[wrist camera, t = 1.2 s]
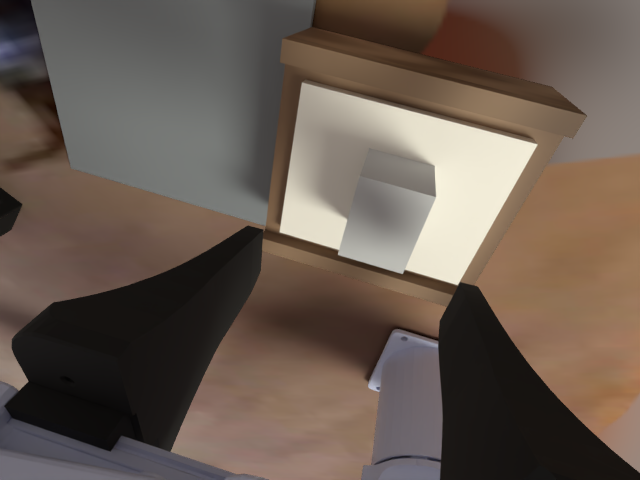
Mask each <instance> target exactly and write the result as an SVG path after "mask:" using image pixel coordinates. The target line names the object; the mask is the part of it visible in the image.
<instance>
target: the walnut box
mask: <svg viewBox="0 0 640 480" xmlns="http://www.w3.org/2000/svg"><path fill="white" fill-rule="evenodd" d="M280 63H284V64H285V69H284V77H283V86H282V94H281V102H280V111H279V119H278V127H277V136H276V144H275V152H274V161H273V169H272V177H271V186H270V194H269V202H268V211H267V219H266V227H265V231H264V233H263V244H262V251H263V252H267V253H270V254H273V255H277V256H280V257H283V258H287V259H290V260H293V261H297V262H300V263H303V264H307V265H310V266H313V267H316V268H320V269H323V270H326V271H330V272H333V273H336V274H340V275H343V276H346V277H350V278H353V279H356V280H360V281H363V282H366V283H370V284H373V285H376V286H379V287H383V288H386V289H389V290H393V291H396V292H399V293H403V294H406V295H409V296H413V297H416V298H419V299H423V300H426V301H429V302H432V303H436V304H439V305H442V306H446V307H447V306H448V304H449V303H450V301H451V299H452V297H453V295H454V293H455V291H456V289H457V287H458V285H459V284H458V285H455V284H452V283H449V282H445V281H442V280H439V279H435V278H432V277H428V276H425V275H422V274H418V273H415V272H412V271H408V270H404V272H403V274H401V273H397V272H394V271H390V270H387V269H384V268H380V267H377V266H374V265H370V264H367V263H364V262H360V261H357V260H353V259H350V258H347V257H343V256H340V255H338V252H339V250H337V249H334V248H331V247H327V246H324V245H320V244H317V243H314V242H310V241H307V240H304V239H300V238H297V237H294V236H290V235H287V234H283V233H280V226H281V219H282V212H283V206H284V199H285V192H286V186H287V179H288V172H289V166H290V159H291V152H292V146H293V139H294V132H295V125H296V119H297V112H298V105H299V99H300V92H301V85H302V82H303V81H304V80H309V81H313V82H317V83H320V84H324V85H328V86H332V87H336V88H340V89H343V90H347V91H351V92H355V93H359V94H363V95H366V96H370V97H374V98H378V99H382V100H385V101H389V102H393V103H397V104H401V105H405V106H408V107H412V108H416V109H420V110H424V111H428V112H431V113H435V114H439V115H443V116H447V117H450V118H454V119H458V120H462V121H466V122H470V123H473V124H477V125H481V126H485V127H489V128H492V129H496V130H500V131H504V132H508V133H512V134H515V135H519V136H523V137H527V138H531V139H534V140H535V141H536V143H537V144H538V145H537V147H536V148H535V150H534V152H533V154H532V155H531V157H530V159H529V161H528V162H527V164H526V166H525V168H524V169H523V171H522V173H521V175H520V176H519V178H518V180H517V182H516V184H515V185H514V187H513V189H512V191H511V192H510V194H509V196H508V198H507V199H506V201H505V203H504V205H503V206H502V208H501V210H500V212H499V213H498V215H497V217H496V219H495V220H494V222H493V224H492V226H491V227H490V229H489V231H488V233H487V235H486V236H485V238H484V240H483V242H482V243H481V245H480V247H479V249H478V250H477V252H476V254H475V256H474V257H473V259H472V261H471V263H470V264H469V266H468V268H467V270H466V271H465V273H464V275H463V277H462V278H461V280H460V282H462V283H466V284H470V285H474V284H475V283H476V281H477V279H478V278H479V276H480V274H481V273H482V271H483V269H484V268H485V266H486V264H487V263H488V261H489V260H490V258H491V256H492V255H493V253H494V251H495V250H496V248H497V246H498V245H499V243H500V241H501V240H502V238H503V236H504V235H505V233H506V231H507V230H508V228H509V226H510V225H511V223H512V222H513V220H514V218H515V217H516V215H517V213H518V212H519V210H520V208H521V207H522V205H523V203H524V202H525V200H526V198H527V197H528V195H529V193H530V192H531V190H532V188H533V187H534V185H535V184H536V182H537V180H538V179H539V177H540V175H541V174H542V172H543V170H544V169H545V167H546V165H547V164H548V162H549V160H550V158H551V157H552V155H553V154H554V152H555V150H556V149H557V147H558V146H559V144H560V142H561V141H562V139H563V137H564V136H565V137H569V138H573V137H574V136H575V135H576V133H577V131H578V130H579V128H580V127H581V125H582V123H583V122H584V120H585V118H586V117H587V115H586V114H584V113H583V112H582V111H581V110H579V109H578V108H577V107H576V106H575V105H573V104H572V103H571V102H570V101H569V100H567V99H566V98H565V97H564V96H563V95H561V94H560V93H559V92H557V91H556V90H555V89H554V88H553V87H550V86H546V85H542V84H538V83H534V82H530V81H526V80H522V79H518V78H514V77H510V76H506V75H502V74H498V73H494V72H490V71H486V70H482V69H478V68H474V67H470V66H466V65H462V64H458V63H454V62H450V61H446V60H442V59H438V58H434V57H430V56H426V55H422V54H418V53H414V52H410V51H406V50H402V49H398V48H394V47H390V46H386V45H382V44H378V43H374V42H370V41H366V40H362V39H358V38H354V37H350V36H346V35H342V34H338V33H334V32H330V31H326V30H322V29H318V28H314V27H311V28H308V29H305V30H303V31H300V32H298V33H295V34H292V35H290V36H287V37H285V38H282V47H281V56H280ZM460 282H459V283H460Z"/></svg>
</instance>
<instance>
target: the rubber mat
mask: <svg viewBox="0 0 640 480" xmlns="http://www.w3.org/2000/svg"><path fill="white" fill-rule="evenodd" d="M31 3H32V7H33V11H34V16H35V20H36V24H37V28H38V32H39V36H40V41H41V45H42V49H43V53H44V57H45V61H46V66H47V70H48V74H49V78H50V82H51V87H52V91H53V95H54V99H55V103H56V107H57V112H58V116H59V120H60V124H61V128H62V132H63V137H64V141H65V145H66V149H67V153H68V158H69V162H70V166H71V168H72V169H75V170H78V171H82V172H85V173H89V174H92V175H95V176H99V177H102V178H105V179H109V180H112V181H116V182H119V183H122V184H126V185H129V186H132V187H136V188H139V189H143V190H146V191H149V192H153V193H156V194H159V195H163V196H166V197H170V198H173V199H176V200H180V201H183V202H186V203H190V204H193V205H197V206H200V207H203V208H207V209H210V210H214V211H217V212H220V213H224V214H227V215H230V216H234V217H237V218H241V219H244V220H247V221H251V222H254V223H257V224H261V225H264V226H266V219H267V211H268V202H269V194H270V186H271V177H272V169H273V161H274V152H275V144H276V136H277V127H278V119H279V111H280V102H281V94H282V86H283V77H284V69H285V64H284V63H280V56H281V47H282V38H285V37H287V36H290V35H292V34H295V33H298V32H300V31H303V30H305V29H308V28H311V27H312V24H313V17H314V11H315V4H316V0H31Z"/></svg>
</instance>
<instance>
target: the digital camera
mask: <svg viewBox="0 0 640 480" xmlns="http://www.w3.org/2000/svg"><path fill="white" fill-rule="evenodd" d="M21 206H22V204H21V203H20V202H19V201H17V200H16V199H15V198H13V197H12V196H11V195H9V194H8V193H7V192H5V191H4V190H3V189H2V188H0V218H1V219H0V236H2V235H4V234H5V233H7V232H8V231H10V230H11V229H12V227H13V225H14V222H15V220H16V218H17V216H18V213H19V211H20V209H21ZM19 207H20V208H19ZM16 209H17V210H16ZM14 210H15V211H14ZM12 211H13V212H12ZM7 214H8V215H7ZM5 215H6V216H5Z"/></svg>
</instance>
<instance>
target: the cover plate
mask: <svg viewBox="0 0 640 480" xmlns="http://www.w3.org/2000/svg"><path fill="white" fill-rule="evenodd" d="M537 145H538V144H537V143H536V141H535V140H534V139H531V138H527V137H523V136H519V135H515V134H512V133H508V132H504V131H500V130H496V129H492V128H489V127H485V126H481V125H477V124H473V123H470V122H466V121H462V120H458V119H454V118H450V117H447V116H443V115H439V114H435V113H431V112H428V111H424V110H420V109H416V108H412V107H408V106H405V105H401V104H397V103H393V102H389V101H385V100H382V99H378V98H374V97H370V96H366V95H363V94H359V93H355V92H351V91H347V90H343V89H340V88H336V87H332V86H328V85H324V84H320V83H317V82H313V81H309V80H304V81H303V82H302V85H301V92H300V99H299V105H298V112H297V119H296V125H295V132H294V139H293V146H292V152H291V159H290V166H289V172H288V179H287V186H286V192H285V199H284V206H283V212H282V219H281V226H280V233H283V234H287V235H290V236H294V237H297V238H300V239H304V240H307V241H310V242H314V243H317V244H320V245H324V246H327V247H331V248H334V249H337V250H339V252H338V255H340V256H343V257H347V258H350V259H353V260H357V261H360V262H364V263H367V264H370V265H374V266H377V267H380V268H384V269H387V270H390V271H394V272H397V273H401V274H403V272H404V270H408V271H412V272H415V273H418V274H422V275H425V276H428V277H432V278H435V279H439V280H442V281H445V282H449V283H452V284H455V285H458V284H459V282H460V280H461V278H462V277H463V275H464V273H465V271H466V270H467V268H468V266H469V264H470V263H471V261H472V259H473V257H474V256H475V254H476V252H477V250H478V249H479V247H480V245H481V243H482V242H483V240H484V238H485V236H486V235H487V233H488V231H489V229H490V227H491V226H492V224H493V222H494V220H495V219H496V217H497V215H498V213H499V212H500V210H501V208H502V206H503V205H504V203H505V201H506V199H507V198H508V196H509V194H510V192H511V191H512V189H513V187H514V185H515V184H516V182H517V180H518V178H519V176H520V175H521V173H522V171H523V169H524V168H525V166H526V164H527V162H528V161H529V159H530V157H531V155H532V154H533V152H534V150H535V148H536V147H537Z"/></svg>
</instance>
